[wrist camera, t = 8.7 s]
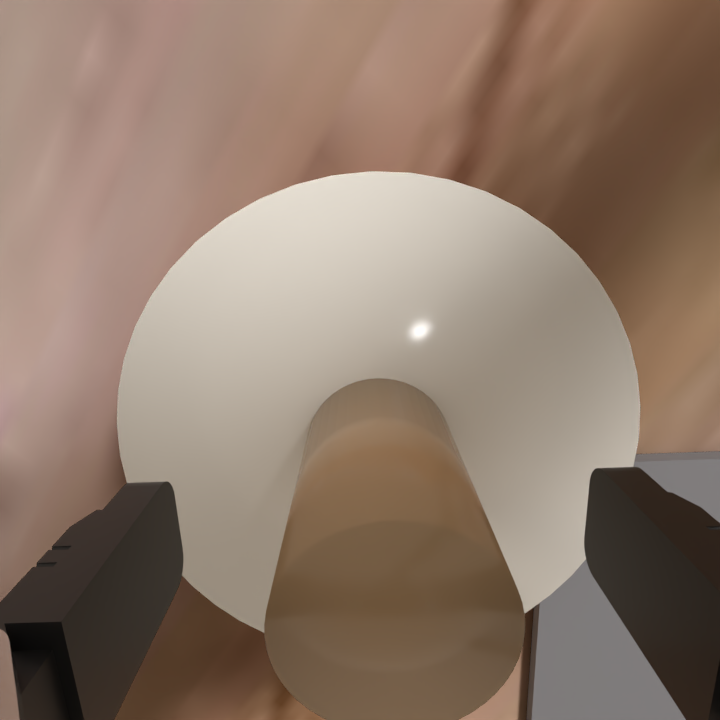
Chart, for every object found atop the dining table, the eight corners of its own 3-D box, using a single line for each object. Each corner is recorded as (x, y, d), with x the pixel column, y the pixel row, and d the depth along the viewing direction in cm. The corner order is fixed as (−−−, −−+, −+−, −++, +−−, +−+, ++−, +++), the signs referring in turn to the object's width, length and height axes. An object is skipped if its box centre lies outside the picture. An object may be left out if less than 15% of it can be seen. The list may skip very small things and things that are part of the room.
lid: (647, 165, 12) (1015, 100, 5) (596, 622, 16) (778, 933, 9) (95, 184, 12) (-235, 145, 5) (168, 635, 16) (24, 952, 9)
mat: (887, 445, 19) (904, 452, 19) (817, 712, 23) (829, 725, 22) (544, 457, 20) (549, 464, 19) (526, 721, 23) (530, 734, 22)
